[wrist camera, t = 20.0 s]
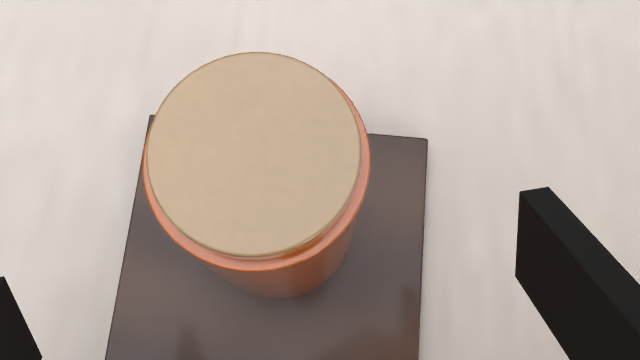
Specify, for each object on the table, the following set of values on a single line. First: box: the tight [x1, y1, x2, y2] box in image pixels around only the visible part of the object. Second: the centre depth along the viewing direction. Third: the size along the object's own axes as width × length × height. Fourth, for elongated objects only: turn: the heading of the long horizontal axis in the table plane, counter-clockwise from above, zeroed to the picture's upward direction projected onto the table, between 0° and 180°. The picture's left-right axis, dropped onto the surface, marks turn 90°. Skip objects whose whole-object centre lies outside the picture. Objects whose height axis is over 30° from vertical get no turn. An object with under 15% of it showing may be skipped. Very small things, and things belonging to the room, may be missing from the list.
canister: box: [143, 52, 370, 299], centre depth 22 cm, size 7×7×10 cm
